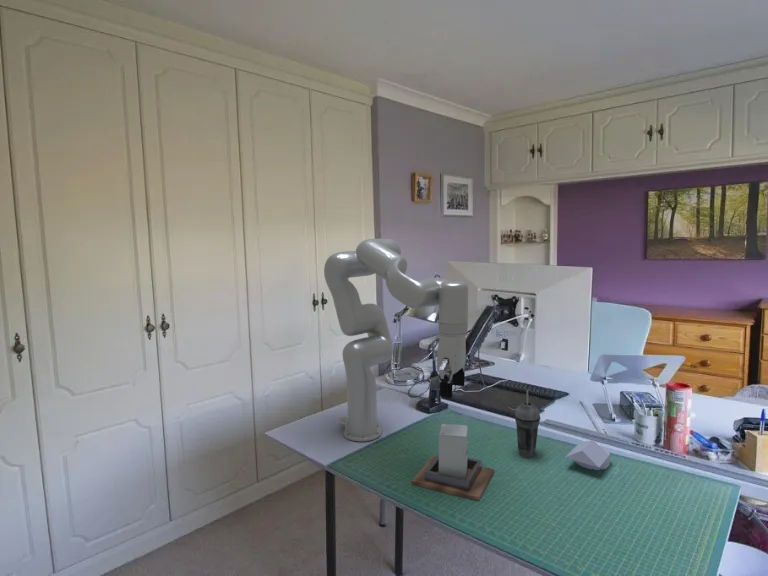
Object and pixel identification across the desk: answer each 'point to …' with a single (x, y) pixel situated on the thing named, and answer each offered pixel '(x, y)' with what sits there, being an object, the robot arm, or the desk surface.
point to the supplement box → (453, 450)
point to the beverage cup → (527, 428)
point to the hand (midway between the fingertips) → (452, 391)
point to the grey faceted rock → (590, 455)
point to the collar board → (455, 479)
